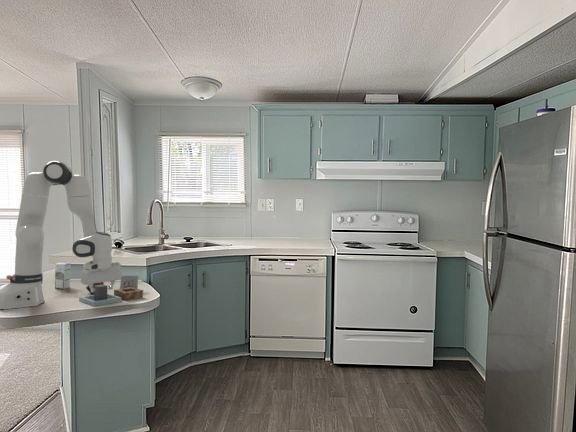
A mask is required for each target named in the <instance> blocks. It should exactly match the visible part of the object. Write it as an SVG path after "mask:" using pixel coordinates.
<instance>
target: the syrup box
mask: <svg viewBox="0 0 576 432" xmlns="http://www.w3.org/2000/svg"><path fill="white" fill-rule="evenodd" d="M54 266H55V273H54V289H59V290H60V289H61V290H65V289H68V288H70V286H71V262H62V261H61V262H60V261H59V262H56V263H55V265H54Z"/></svg>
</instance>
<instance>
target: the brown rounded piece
mask: <svg viewBox="0 0 576 432" xmlns="http://www.w3.org/2000/svg"><path fill="white" fill-rule="evenodd" d="M96 285H105V282H101V283H94V284H93V286H92V287H93V288H94V286H96ZM85 289H86V290H87V291H88V292H89V293H90V294H91V295H94V292H91V289H90V287H89V286H88V285H87V286H86V287H85Z"/></svg>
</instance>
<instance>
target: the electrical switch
mask: <svg viewBox="0 0 576 432" xmlns="http://www.w3.org/2000/svg"><path fill="white" fill-rule="evenodd" d="M119 285H120V286H119V289H123V288H130V287H133V288H137V289H139V287H138V285H139V276H138V275H122V278H121V279H120V284H119Z"/></svg>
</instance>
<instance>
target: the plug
mask: <svg viewBox="0 0 576 432" xmlns="http://www.w3.org/2000/svg"><path fill="white" fill-rule="evenodd" d="M108 286H109V285H106V284H104V285H96V286H94V289H95V292H94V294H93V295H94V299H93V301H100V300H106V299H108V298H107V293H108V288H109V287H108Z"/></svg>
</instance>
